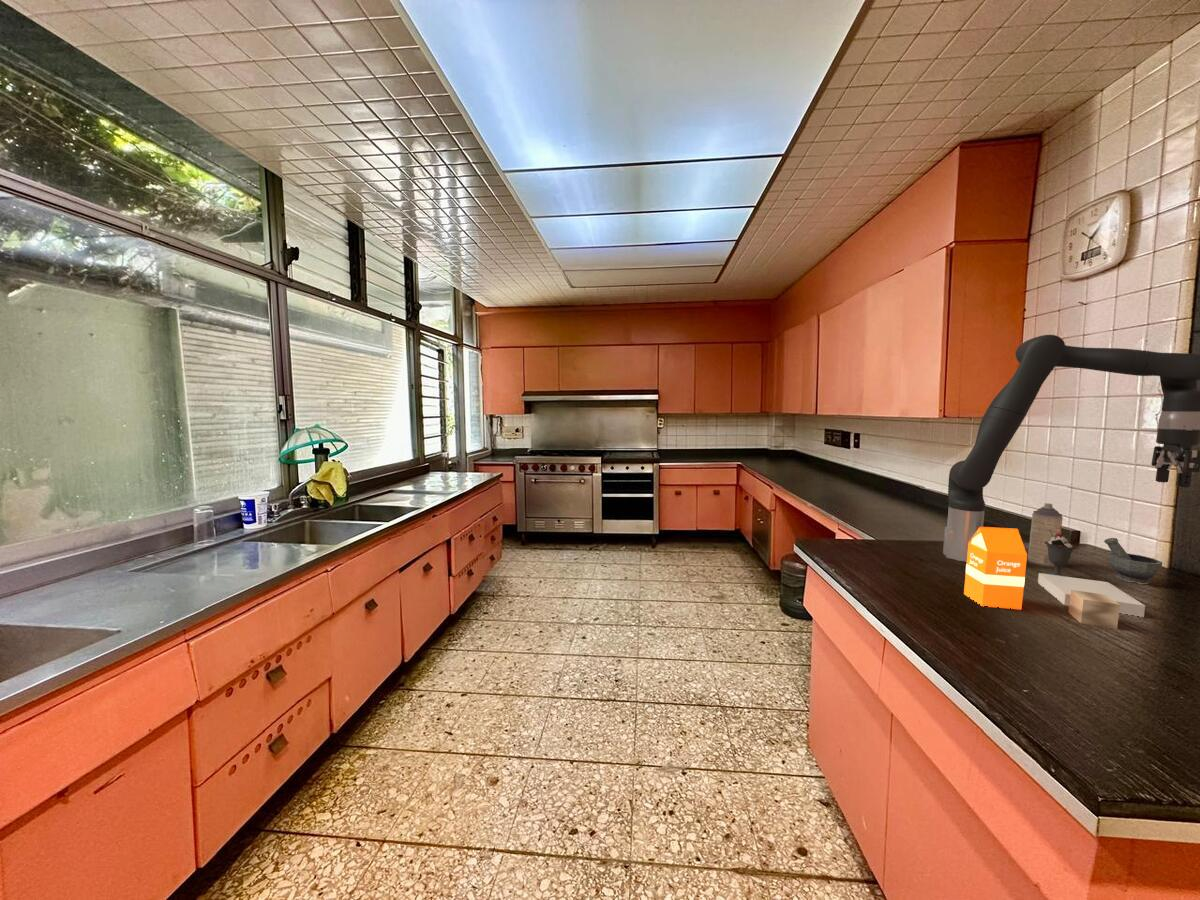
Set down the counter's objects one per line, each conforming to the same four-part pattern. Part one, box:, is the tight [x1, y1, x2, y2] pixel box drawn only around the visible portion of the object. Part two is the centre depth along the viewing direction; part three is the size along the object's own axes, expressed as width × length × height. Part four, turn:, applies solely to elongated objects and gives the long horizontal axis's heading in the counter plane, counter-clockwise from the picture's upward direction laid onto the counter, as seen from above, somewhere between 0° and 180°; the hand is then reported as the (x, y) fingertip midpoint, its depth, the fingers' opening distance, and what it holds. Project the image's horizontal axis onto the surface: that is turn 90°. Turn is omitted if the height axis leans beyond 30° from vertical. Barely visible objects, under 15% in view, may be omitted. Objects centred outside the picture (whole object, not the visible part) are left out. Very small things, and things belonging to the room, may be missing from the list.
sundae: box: [1044, 527, 1077, 577], centre depth 129 cm, size 7×7×15 cm
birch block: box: [1068, 590, 1120, 630], centre depth 103 cm, size 6×6×6 cm
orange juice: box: [963, 526, 1028, 610], centre depth 113 cm, size 8×9×20 cm
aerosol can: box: [1027, 502, 1064, 568], centre depth 140 cm, size 7×7×20 cm
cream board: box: [1037, 572, 1146, 618], centre depth 115 cm, size 14×16×3 cm
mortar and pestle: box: [1103, 537, 1163, 583], centre depth 127 cm, size 11×9×12 cm
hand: (1171, 484), depth 122 cm, fingers open, 8 cm apart
